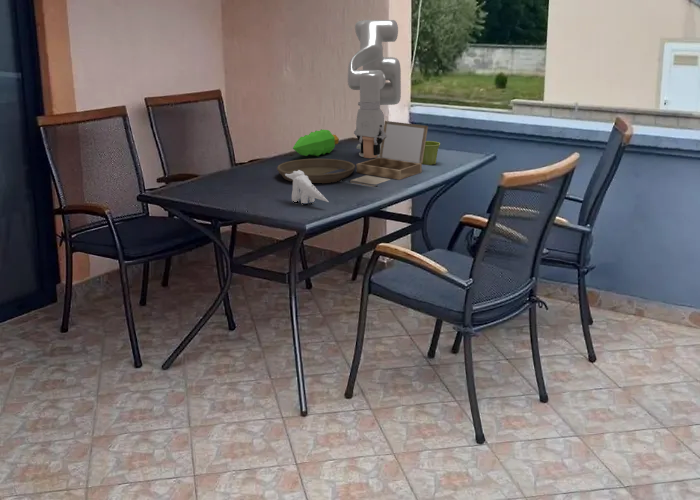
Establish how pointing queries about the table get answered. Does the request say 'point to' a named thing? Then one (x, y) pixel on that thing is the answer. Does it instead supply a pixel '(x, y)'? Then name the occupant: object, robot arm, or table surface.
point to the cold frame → (389, 168)
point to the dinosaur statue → (304, 188)
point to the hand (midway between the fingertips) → (370, 153)
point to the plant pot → (430, 152)
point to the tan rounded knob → (368, 147)
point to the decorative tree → (316, 143)
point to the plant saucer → (317, 169)
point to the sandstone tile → (369, 180)
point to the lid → (404, 141)
